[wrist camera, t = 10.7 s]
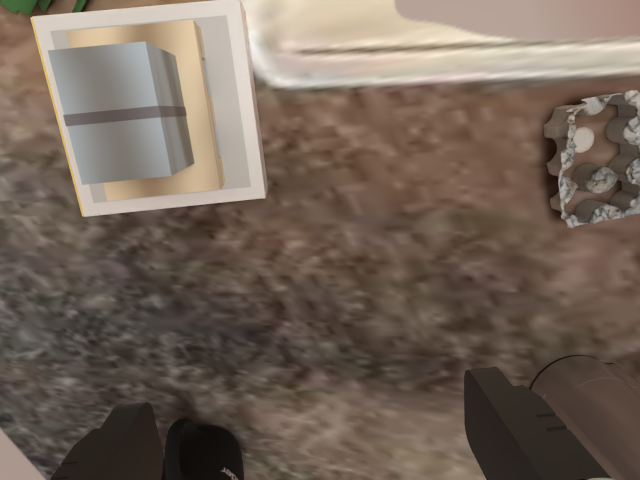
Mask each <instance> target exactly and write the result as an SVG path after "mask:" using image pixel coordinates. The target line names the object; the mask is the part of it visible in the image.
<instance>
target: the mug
mask: <svg viewBox="0 0 640 480" xmlns="http://www.w3.org/2000/svg"><path fill="white" fill-rule="evenodd" d="M182 430H184V434H183V435H182V436H181V433H182ZM180 436H181V437H180ZM161 480H244V471H243V461H242V455H241V451H240V448H239V446H238V444H237V442H236V440H235V439H234V437H233V436H232V435H231V434H230V433H228V432H227V431H225V430H223V429H221V428H218V427H214V426H200V427H196V425H195V424H194V423H193V422H192V421H191V420H190V419H187V418H182V419H179V420H177V421H175V422H174V423H173V424H172V426H171V427H170V429H169V432H168V435H167V440H166V446H165V458H164V460H163V472H162V476H161Z"/></svg>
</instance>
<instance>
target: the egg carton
mask: <svg viewBox="0 0 640 480" xmlns="http://www.w3.org/2000/svg"><path fill="white" fill-rule="evenodd" d="M581 101H582V102H583V104H579V105H565V106H560V107H556V108H554V112H553V116H552V118H551V119H550V120H549V122H548V123H546V124H544V127H543V132H544V137H547V138H552V139H553V140H554V141H555V142H556V145H557V152H556V154H555V156H554V158H553V159H552V160H551V161H549V162H547V167H548V170H549V174H552V175H553V176H557V177H558V178H559V180H558V185H559V191H558V193H557V194H556V195H555V196H554V197H552V198H550V203H551V208H552V209H556V210H559V211H560V212H562V215H561V218H562V219H563V220H566V222H567V224H568V226H567V227H568V228H574V227H576V226H578V225H583V224H595V223H597V222H600V221H607V220H611V219H616V218H623V217H624V216H626V215H632V214H638V213H640V93H639V92H638V91H637V90H631V91H629V92H627V93H625V94H624V93H618V94H609V95H600V96H596V97H592V98H586V99H582V100H581ZM607 103H608V104H611V105H617V106H618V116H617V117H615V118H613V119H612V120H611V121H610V122H609V124H608V126H607V128H606V136H607V138H608V140H609V141H611V142H613V143H619V144H620V154H619V155H617V156H616V157H614V158H613V159H612V160H611V162H610V164H609V167H603V166H597V165H592V164H583V165H581V166H579V167H578V168H577V169H576V170H575V171H574V173H573V176H572V181H571V180H570V179H569V178H567V177H564V176H562V173H563V172H564V171H565V170H566V169H568V168H569V167H570V166H571V165H572V164H573V163H574V162H573V159H572V158H573V156H574V154H575V152H576V153H583V152H585V151H587V150H588V149H589V148H590V147H591V146H592V144H593V141H594V133H593V131H592V130H591V129H589V128H588V127H579V128H577V129H576V125H575V121H574V119H575V115H595V114H597V113H599V112H600V111H601V110H603V109H604V108H605V106H606V104H607ZM617 180H620V181H621V182H622V190H621V191H619V192H617V193H616V194H615V195H614V196H613V197H612V199H611V201H610V205H608V204H606V203H602V202H599V201H596V200H591V199H587V200H584V201H582V202H581V203H580V204H579V205H578V206H577V208H576V211H575V215H572V214H569V213H567V212H564V205H565V204H567V203H568V201H569V200H570V199H571V198H572V197H573V194H574V191H575V190H576V189H577V188H578V189H581V190H584V192H585V191H588V192H591V193H604V192H607V191H608V190H609V189H610V188H611V187H612V186H613V185H614V184H615V182H616V181H617ZM584 192H583V193H584Z"/></svg>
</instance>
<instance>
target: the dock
mask: <svg viewBox="0 0 640 480" xmlns="http://www.w3.org/2000/svg"><path fill="white" fill-rule="evenodd" d="M30 19H31V22H32V26H33V30H34V34H35V38H36V41H37V45H38V49H39V53H40V57H41V61H42V64H43V68H44V72H45V76H46V80H47V83H48V87H49V91H50V95H51V99H52V102H53V106H54V110H55V114H56V118H57V121H58V125H59V129H60V133H61V137H62V140H63V144H64V148H65V152H66V156H67V160H68V163H69V167H70V171H71V175H72V179H73V182H74V186H75V190H76V194H77V198H78V201H79V205H80V209H81V213H82V216H84V217H87V216H96V215H106V214H116V213H125V212H135V211H145V210H154V209H164V208H173V207H183V206H193V205H202V204H212V203H222V202H231V201H241V200H251V199H260V198H266V195H267V191H268V184H267V176H266V168H265V161H264V153H263V145H262V138H261V130H260V122H259V114H258V107H257V99H256V91H255V83H254V76H253V68H252V60H251V53H250V45H249V37H248V29H247V22H246V14H245V10H244V8H243V6H242V3H241V1H240V0H214V1H203V2H192V3H180V4H169V5H158V6H146V7H135V8H123V9H112V10H101V11H89V12H78V13H67V14H55V15H44V16H33V17H30ZM184 20H194V21H195V22H196V24H197V25H198V26H199V27H200V28H201V33H202V39H203V45H204V52H205V58H206V59H204V60H202V62H203V68H204V74H205V80H206V86H207V93H208V94H209V95H211V96H212V102H213V108H214V115H215V121H216V124H213V130H214V136H215V142H216V148H217V154H218V157H220V156H221V158H222V165H223V171H224V177H225V184H224V185H223V187H222V188H221V189H220V190H210V191H201V192H191V193H181V194H172V195H162V196H152V197H143V198H133V199H123V200H114V201H107V197H106V193H105V189H104V185H103V183H96V184H87V185H82V182H81V178H80V175H79V171H78V167H77V163H76V159H75V155H74V151H73V147H72V144H71V140H70V136H69V132H68V128H67V126H66V125H65V121H64V117H63V115H64V112H63V109H62V105H61V101H60V97H59V93H58V89H57V85H56V81H55V78H54V74H53V70H52V66H51V62H50V58H49V54H48V50H57V49H67V48H70V45H69V41H68V37H67V33H66V31H74V30H85V29H96V28H107V27H118V26H129V25H140V24H151V23H162V22H173V21H184Z"/></svg>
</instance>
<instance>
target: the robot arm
mask: <svg viewBox="0 0 640 480" xmlns="http://www.w3.org/2000/svg"><path fill="white" fill-rule="evenodd" d="M464 410H465V430H466V435H467V439H468V442H469V445H470V447H471V450H472V452H473V454H474V456H475V458H476V460H477V462H478V463H479V465H480V467H481V469H482V471H483V473H484V475H485V477H486V479H487V480H640V383H639V382H637V381H636V380H635V379H634V378H632V377H631V376H630V375H629V374H627V373H626V372H625V371H623V370H622V369H621V368H620V367H618V366H617V365H616V364H604V363H602V362H601V361H599V360H597V359H595V358H592V357H589V356H572V357H568V358H564V359H561V360H559V361H557V362H555V363H553V364H552V365H550V366H549V367H547V368H546V369H545V370H544V371H543V372H542V373H541V374H540V375H539V376H538V377H537V379H536V380H535V382H534V383H533V386H532V388H531V390H529V389H528V388H526V387H524V386H523V385H522V386H512V385H511V384H510V382H509V381H508V380H507V378H506V377H505V376H504V375H503V373H502V372H501V371H500V370H499V369H498V368H497V367H492V368H482V369H472V370H466V372H465V376H464ZM61 464H62V465H61V467H58V469H57V470H56V472H55V473H54V474H53V476H52V477H51V480H161V476H162V472H163V452H162V447H161V443H160V439H159V434H158V430H157V426H156V422H155V417H154V413H153V409H152V407H151V405H150V404H149V403H148V402H146V403H136V404H126V405H118V406H116V407H115V408H114V409H113V410H112V412H111V413H110V415H109V416H108V418H107V419H106V421H105V422H104V424H103V425H102V427H101V428H99V429H93V430H92V431H91V432H90V433H88V434H87V435H86V436H85V437H84V438H82V439H81V440H80V441H79V442H78V443H76V444H75V445H74V446H73V448H72V449H71V451H70V452H69V453H68V455H67V456H66V458H65V459H64V460H63V462H62V463H61Z"/></svg>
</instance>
